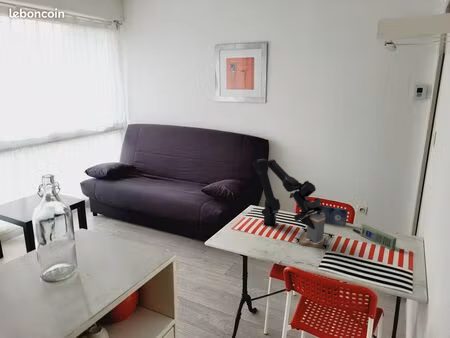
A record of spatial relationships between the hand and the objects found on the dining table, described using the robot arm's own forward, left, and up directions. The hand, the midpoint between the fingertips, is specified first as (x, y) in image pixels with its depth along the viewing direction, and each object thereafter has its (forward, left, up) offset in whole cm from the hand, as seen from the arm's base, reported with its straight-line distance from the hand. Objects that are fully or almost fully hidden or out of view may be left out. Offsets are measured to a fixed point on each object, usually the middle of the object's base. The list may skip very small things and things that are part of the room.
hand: (317, 227), depth 173 cm
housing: (-1, +1, -7) cm, 7 cm away
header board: (-3, +2, -9) cm, 10 cm away
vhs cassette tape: (+5, +31, -10) cm, 32 cm away
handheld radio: (+28, +14, -10) cm, 33 cm away
